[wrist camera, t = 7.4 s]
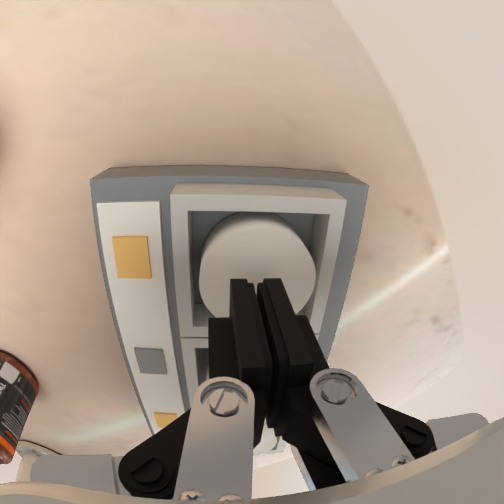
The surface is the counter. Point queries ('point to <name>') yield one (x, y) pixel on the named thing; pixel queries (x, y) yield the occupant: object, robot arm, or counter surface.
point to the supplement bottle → (14, 403)
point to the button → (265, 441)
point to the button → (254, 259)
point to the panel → (189, 260)
